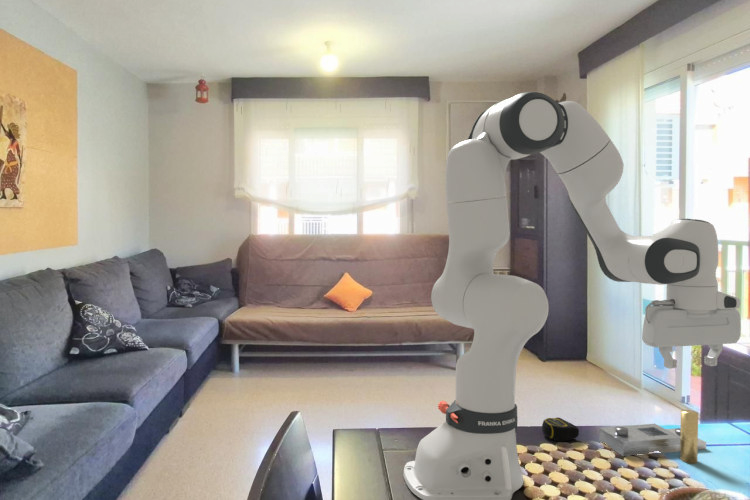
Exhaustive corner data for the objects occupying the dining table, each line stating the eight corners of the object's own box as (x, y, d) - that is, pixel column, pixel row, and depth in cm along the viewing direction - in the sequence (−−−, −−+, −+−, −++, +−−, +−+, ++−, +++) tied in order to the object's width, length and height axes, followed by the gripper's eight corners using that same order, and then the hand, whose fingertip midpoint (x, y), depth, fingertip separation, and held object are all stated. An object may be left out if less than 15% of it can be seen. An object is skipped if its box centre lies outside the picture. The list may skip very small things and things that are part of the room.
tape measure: (580, 442, 113) (580, 425, 113) (554, 445, 111) (555, 429, 111) (560, 430, 119) (560, 415, 119) (535, 434, 117) (536, 418, 117)
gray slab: (623, 456, 105) (623, 436, 105) (599, 441, 113) (599, 422, 113) (706, 449, 108) (706, 429, 108) (677, 434, 116) (677, 416, 116)
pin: (688, 464, 101) (688, 415, 101) (676, 457, 104) (677, 410, 104) (700, 462, 102) (701, 414, 102) (689, 456, 105) (689, 409, 104)
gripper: (657, 302, 97) (656, 373, 97) (747, 299, 101) (746, 367, 101) (635, 298, 103) (634, 365, 104) (720, 295, 107) (719, 360, 107)
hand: (690, 366), depth 102 cm, fingers open, 8 cm apart
